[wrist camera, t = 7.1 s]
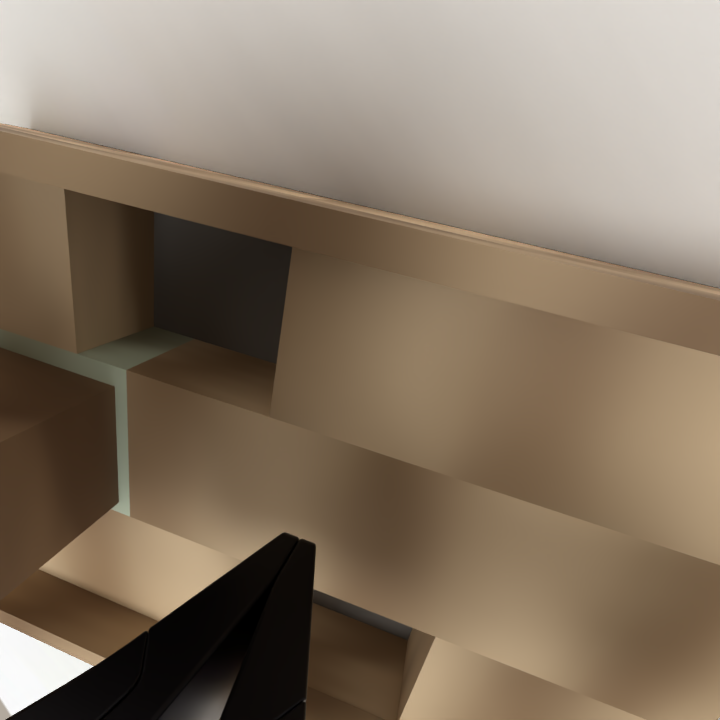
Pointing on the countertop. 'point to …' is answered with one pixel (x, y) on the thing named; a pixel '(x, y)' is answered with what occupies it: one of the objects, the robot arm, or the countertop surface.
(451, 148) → the countertop surface
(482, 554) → the wooden tray
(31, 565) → the block
